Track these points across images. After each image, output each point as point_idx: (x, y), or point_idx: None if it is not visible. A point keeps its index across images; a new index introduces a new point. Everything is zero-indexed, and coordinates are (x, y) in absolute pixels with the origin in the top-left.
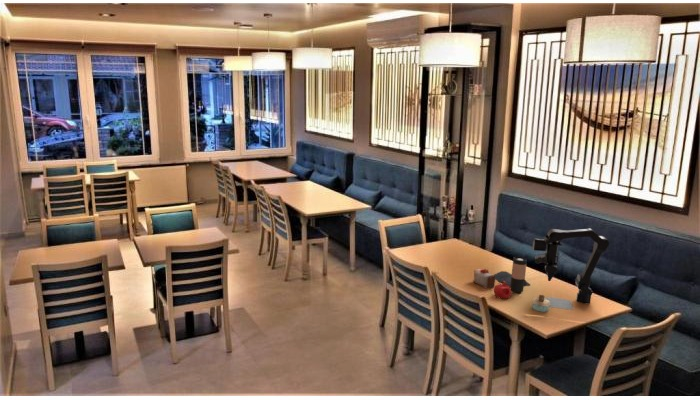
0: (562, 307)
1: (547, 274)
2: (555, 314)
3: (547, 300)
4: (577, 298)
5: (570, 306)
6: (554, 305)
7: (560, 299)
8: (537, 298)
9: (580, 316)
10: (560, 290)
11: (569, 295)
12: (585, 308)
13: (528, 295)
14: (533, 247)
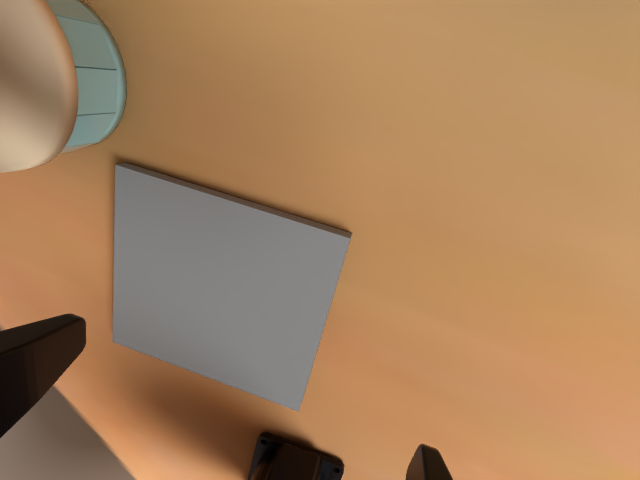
0: (134, 285)
1: (419, 464)
2: (23, 183)
3: (15, 154)
4: (276, 464)
5: (170, 352)
6: (154, 236)
7: (298, 342)
8: (24, 40)
9: None
10: (553, 443)
11: None
12: (195, 433)
13: (414, 44)
14: None
